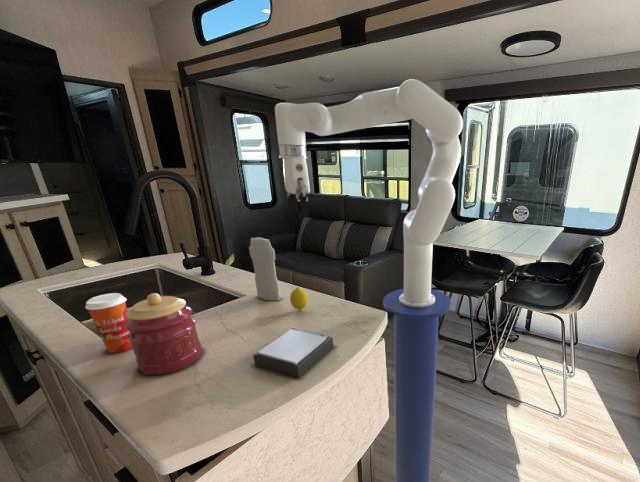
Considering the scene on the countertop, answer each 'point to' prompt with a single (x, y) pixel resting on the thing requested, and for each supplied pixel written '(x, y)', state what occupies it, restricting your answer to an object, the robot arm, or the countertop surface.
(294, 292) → the lemon
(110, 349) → the paper cup
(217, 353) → the countertop surface
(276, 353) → the scale
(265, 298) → the grey stone slab
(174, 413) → the countertop surface
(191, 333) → the kitchen canister
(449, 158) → the robot arm
